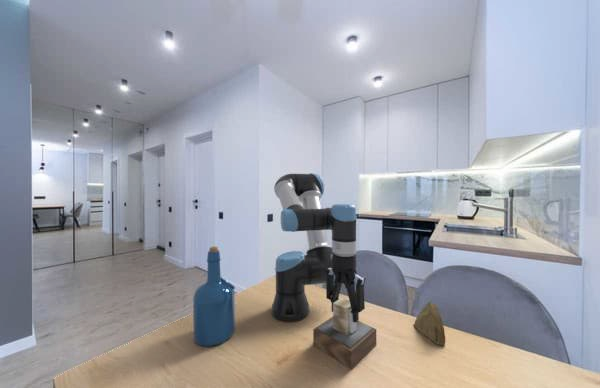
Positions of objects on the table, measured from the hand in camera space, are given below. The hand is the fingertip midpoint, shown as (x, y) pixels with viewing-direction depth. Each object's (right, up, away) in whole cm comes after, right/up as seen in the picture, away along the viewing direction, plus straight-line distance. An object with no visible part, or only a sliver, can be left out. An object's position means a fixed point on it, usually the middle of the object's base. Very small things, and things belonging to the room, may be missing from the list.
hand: (344, 326), depth 71 cm
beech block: (0, 0, 0) cm, 1 cm away
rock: (+29, -6, +4) cm, 30 cm away
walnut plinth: (0, -6, 0) cm, 6 cm away
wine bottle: (-43, -6, +6) cm, 44 cm away
